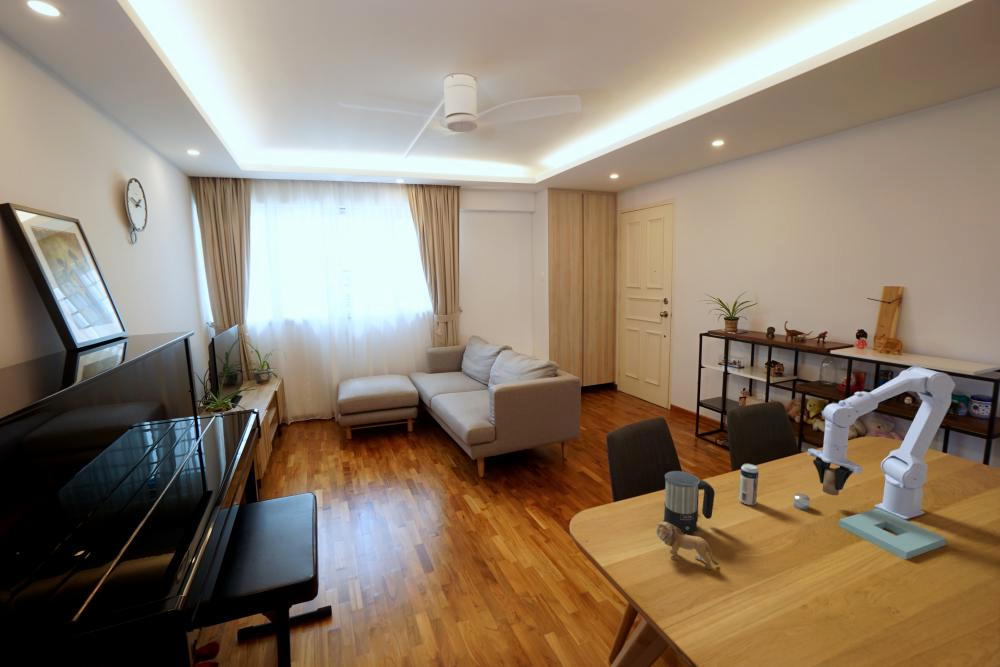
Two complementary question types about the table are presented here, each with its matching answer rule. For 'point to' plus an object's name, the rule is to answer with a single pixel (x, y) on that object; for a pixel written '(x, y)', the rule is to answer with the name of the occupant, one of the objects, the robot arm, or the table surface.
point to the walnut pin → (830, 482)
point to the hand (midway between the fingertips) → (831, 486)
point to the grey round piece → (801, 501)
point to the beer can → (748, 484)
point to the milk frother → (686, 500)
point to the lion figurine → (684, 542)
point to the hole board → (903, 545)
